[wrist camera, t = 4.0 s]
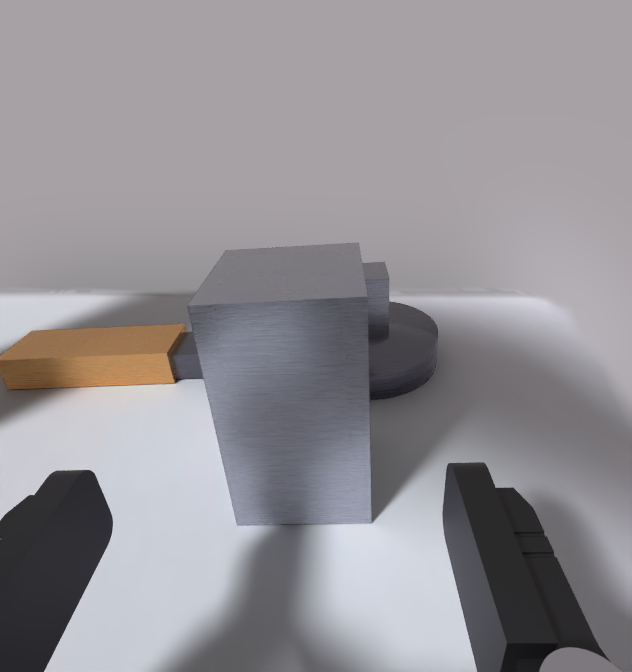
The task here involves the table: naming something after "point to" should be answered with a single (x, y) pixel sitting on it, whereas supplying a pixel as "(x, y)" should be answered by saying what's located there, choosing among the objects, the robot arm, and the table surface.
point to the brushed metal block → (289, 381)
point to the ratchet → (183, 360)
